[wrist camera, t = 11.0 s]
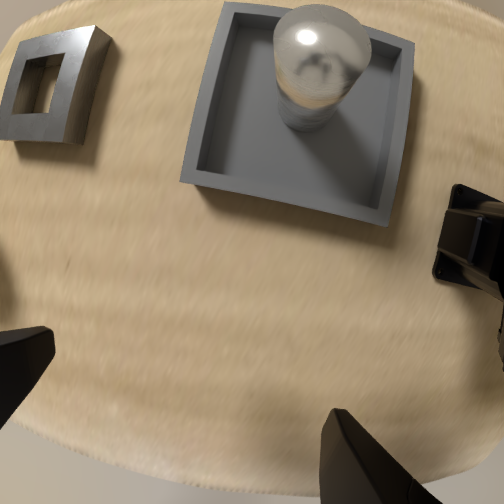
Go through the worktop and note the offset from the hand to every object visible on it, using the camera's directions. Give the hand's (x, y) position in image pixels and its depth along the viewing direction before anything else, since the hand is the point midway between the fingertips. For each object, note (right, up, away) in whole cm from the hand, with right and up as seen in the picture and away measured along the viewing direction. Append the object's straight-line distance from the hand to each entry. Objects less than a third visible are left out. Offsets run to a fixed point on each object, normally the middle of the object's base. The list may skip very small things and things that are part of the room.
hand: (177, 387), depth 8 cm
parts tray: (+5, +12, +9) cm, 16 cm away
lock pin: (+5, +12, +9) cm, 16 cm away
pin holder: (-13, +17, +10) cm, 24 cm away
